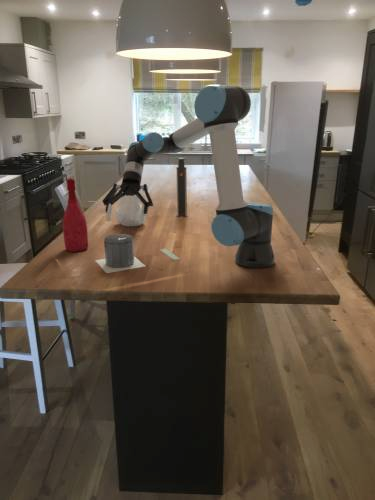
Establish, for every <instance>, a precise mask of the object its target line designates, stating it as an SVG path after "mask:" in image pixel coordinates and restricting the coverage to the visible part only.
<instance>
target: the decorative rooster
mask: <svg viewBox="0 0 375 500" xmlns="http://www.w3.org/2000/svg"><path fill="white" fill-rule="evenodd" d="M122 193H123V192H122ZM118 206H119V207H118V208H117V209H116V211H115V220H116V222H117V223H118V224H120V225H122V226H123V227H130V226H131V227H133V226H134V227H139V226H142V224H143V223H145V221H146V218H147V214H145V215H144V222H141V219H140V217H141V210H142V204H141V201H140V199H139V198H138V197H137V196H136V195H134V196H126V195H125V196H124V197H121V198H120V199H119V203H118Z"/></svg>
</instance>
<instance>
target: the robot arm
mask: <svg viewBox="0 0 375 500" xmlns="http://www.w3.org/2000/svg"><path fill="white" fill-rule="evenodd" d="M193 105H194V106H193V107H194V114H195V116H196V118H194V119H193V120H192V121H190V122H188V123H186V124H185V125H183V126H182V127H180V128H178V129H176V130H175V131H174V132H172V133H170V134H166V135H164V134H163V135H161V134H160V133H159V132H156V131H151V132H149V133H147V134H146V135H145V136H144V137H143V138H142V139H141V140H140V141H134V142H131V143H130V144H129V146H128V149H127V151H126V152H127V153H126V154H127V155H126V160H125V166H124V170H123V176H122V181H121V184H117V183H113V186H112V188H111V189H110V190H109V192H108V193H107V194H106V196H104V198H103V199H102V203H103V205H104V206H105V210H104V211H105V213H106V217H105V218H106V221H107V222H110V221H111V217H112V212H113V205H114V204H115V203H117V202H118V201H120V199H121V197H124V196H125V195H126V196H134V195H136V196H137V197H138V198H139V199H140V203H142V204H141V205H142V210H141V217H140V219H141V222H143V223H145V222H144V215H145V214H146V215H148V211H149V210H148V209H149V208H150V207H154V202H153V200H152V197H151V196H150V193H149V190H148V188H149V187H148V186H147V183H144V184H143V185H141V183H142V177H143V172H144V165H145V162H146V161H147V160H149V159H150V158H151V157H152V156H155V155H165V154H166V155H167V154H168V155H169V154H178V153H181V152H183V151H184V150H185V149H186V147H188V146H189V145H191V144H193V143H195V142H197V141H199V140H201V139H202V138H204V137H206V136H208V135H209V138H210V139H209V140H210V147H211V154H212V155H211V156H212V163H213V169H214V177H215V182H216V183H215V185H216V191H217V197H218V204H217V206H216V207H215V215H216V216H215V217H214V218H213V219H212V222H211V225H210V226H211V233H212V235H213V237H214V239H215V240H216V241H217V242H218V243H219V244H220V245H223V246H225V247H234V246H237V250H236V253H235V255H234V262H235V263H236V264H237V265H238V266H241V267H244V268H251V269H263V268H270V267H272V266H273V265H274V264H275V254H274V251H273V250H274V249H273V245H272V234H273V233H272V232H273V219H274V214H273V212H274V210H273V209H274V208H273V206H272V205H271V204H267V203H261V202H253V201H251V202H250V201H245V200H244V193H243V186H242V179H241V170H240V163H239V162H240V161H239V154H238V153H239V152H238V146H237V139H236V132H235V130H236V128H237V127H238V126H239V122H240V121H241V120H244V119H245V118H246V117H247V115H248V114H249V112H250V110H251V106H252V102H251V96H250V95H249V93H248V91H246V90H245V89H244V88H243V87H241V86H237V85H226V84H219V83H215V84H207V85H205V86H203V87H202V88H201V89H200V90H199V91H198V94H197V95H196V97H195V100H194V103H193ZM141 190H142V191H143V192H144V194H145V196H146V199H147V200H146V199H145V197H144V196H143V195H142V194H141V193H140V191H141ZM122 192H123V193H122Z"/></svg>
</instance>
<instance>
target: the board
mask: <svg viewBox="0 0 375 500" xmlns="http://www.w3.org/2000/svg"><path fill="white" fill-rule="evenodd" d="M94 261H95V262H96V263H97V265H98V266H99V267H100V268H101V269H102V270H103V272H105V273H106V274H110V273H115V272H116V273H117V272H121V271H127V270H133V269H138V268H139V269H140V268H144V267H146V265H145V264H144V263H142V261H140V260H139V259H138V258H137V257H136V256H134V264H133V265H131V266H129V267H124V268H112V267H108V266H107V265H106V261H105V258H101V259H96V260H94Z"/></svg>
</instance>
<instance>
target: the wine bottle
mask: <svg viewBox="0 0 375 500" xmlns="http://www.w3.org/2000/svg"><path fill="white" fill-rule="evenodd" d="M66 185H67V186H66V187H67V188H66V189H67V193H68V195H67V196H68V197H67V198H68V199H67V205H66V207H65V211H64V214H63V218H62V233H63V241H64V247H65V250H66V251H68V252H70V253H71V252H72V253H73V252H75V253H76V252H77V253H78V252H82V251H83V252H84V251H85V250H86V249H88V247H89V238H88V236H89V235H88V223H87V220H86V217H85V214H84V212H83V210H82V209H81V207H80V205H79V201H78V199H77V196H76V189H77V188H76V180H75V179H74V178H67V179H66Z"/></svg>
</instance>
